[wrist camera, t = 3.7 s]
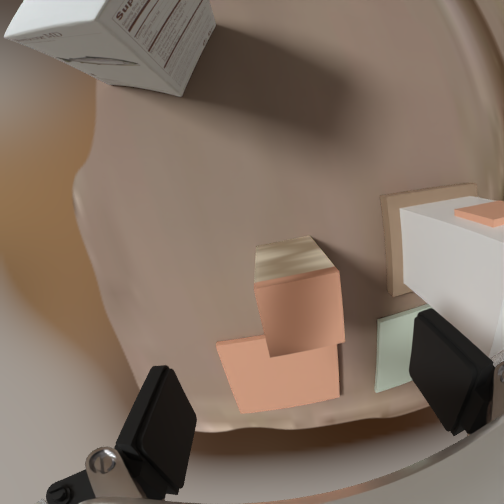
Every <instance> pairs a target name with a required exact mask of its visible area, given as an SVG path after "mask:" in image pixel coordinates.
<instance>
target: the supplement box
mask: <svg viewBox="0 0 504 504" xmlns="http://www.w3.org/2000/svg"><path fill="white" fill-rule="evenodd" d="M215 26H216V22H215V19H214V16H213V12H212V8H211V5H210V1H209V0H24V2H23V3H22V4H21V6H20V8H19V9H18V11H17V13H16V14H15V16H14V18H13V19H12V21H11V23H10V25H9V27H8V29H7V31H6V33H5V35H4V38H6V39H9V40H12V41H15V42H17V43H20V44H22V45H25V46H27V47H30V48H32V49H35V50H37V51H40V52H42V53H44V54H47V55H49V56H51V57H53V58H55V59H58V60H60V61H62V62H64V63H66V64H68V65H70V66H72V67H74V68H76V69H79V70H80V71H83V72H85V73H87V74H88V75H91V76H92V77H94V78H96V79H98V80H100V81H102V82H104V83H106V84H109V85H122V86H131V87H137V88H143V89H149V90H154V91H158V92H163V93H167V94H171V95H175V96H178V97H181V96H182V95H183V92H184V90H185V88H186V86H187V83H188V81H189V79H190V76H191V74H192V72H193V70H194V68H195V66H196V64H197V62H198V59H199V57H200V55H201V53H202V51H203V49H204V47H205V45H206V44H207V41H208V40H209V38H210V36H211V34H212V32H213V30H214V28H215Z"/></svg>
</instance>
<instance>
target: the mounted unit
mask: <svg viewBox="0 0 504 504" xmlns="http://www.w3.org/2000/svg"><path fill="white" fill-rule="evenodd" d="M380 201H381V209H382V217H383V227H384V237H385V250H386V267H387V291H388V292H389V293H390V294H391V295H392V296H393V297H395V296H399V295H402V294H405V293H409V292H412V291H414V292H415V293H416V294H417V295H418V296H420V297H421V298H422V299H423V300H424V301H425V302H427V303H428V304H429V305H430V306H431V307H432V308H433V309H435V310H436V311H437V312H438V313H439V314H440V315H441V316H442V317H444V318H445V319H446V320H447V321H448V322H449V323H451V324H452V325H453V326H454V327H455V328H456V329H458V330H459V331H460V332H461V333H462V334H463V335H464V336H466V337H467V338H468V339H469V340H470V341H471V342H472V343H473V344H474V345H476V346H477V347H478V348H479V349H480V350H481V351H482V352H483V353H484V354H485V355H486V356H487V357H489V358H492V357H493V356H495V355H496V354H498V353H500V352H501V351H503V350H504V201H500V200H499V201H494V200H489V199H484V198H479V197H478V193H477V184H476V183H462V184H454V185H447V186H439V187H432V188H425V189H419V190H412V191H406V192H399V193H393V194H387V195H381V196H380Z"/></svg>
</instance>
